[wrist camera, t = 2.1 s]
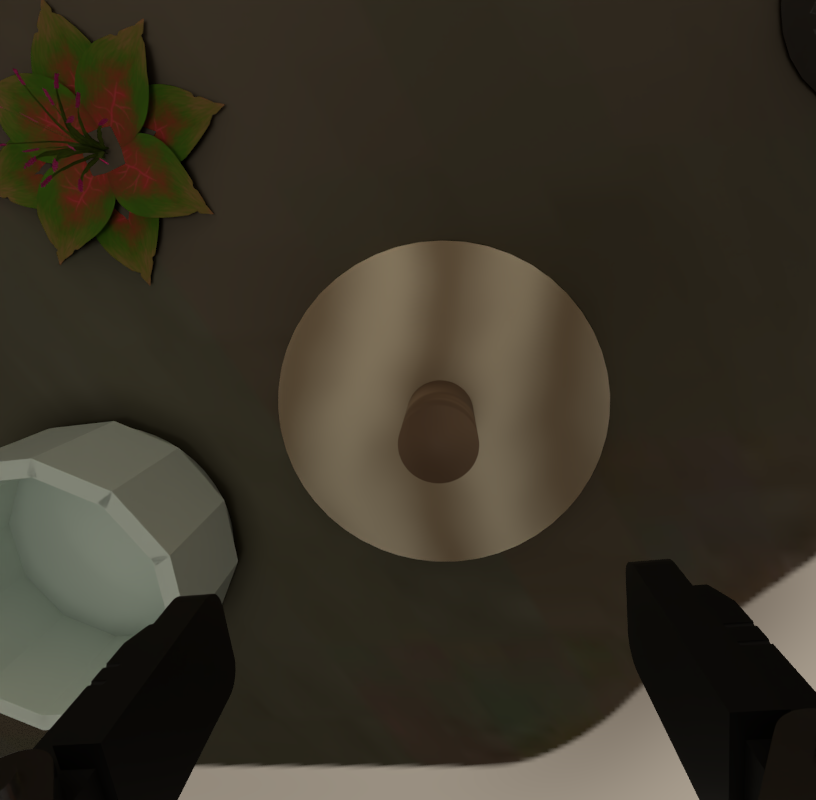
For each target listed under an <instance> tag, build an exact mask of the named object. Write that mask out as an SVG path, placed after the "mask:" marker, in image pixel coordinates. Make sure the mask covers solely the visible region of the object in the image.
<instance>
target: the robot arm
mask: <svg viewBox="0 0 816 800" xmlns="http://www.w3.org/2000/svg"><path fill="white" fill-rule="evenodd" d="M781 16H782V29H783V36H784V39H785V42H786V45H787V49H788V52H789V55H790V58H791V60H792V62H793V63H794V65H795V67H796V68H797V70H798V72H799V73H800V75H801V77H802V78H803V79H804V80H805V81H806V82H807V83H808V84H809V86H810V87H811V88H812V89H813V90H814V91H815V92H816V0H782V1H781ZM626 592H627V617H628V637H629V644H630V650H631V654H632V658H633V661H634V664H635V667H636V670H637V672H638V674H639V676H640V678H641V680H642V682H643V684H644V687H645V688H646V691H647V693H648V695H649V697H650V699H651V701H652V703H653V705H654V707H655V709H656V711H657V713H658V715H659V717H660V719H661V721H662V724H663V726H664V728H665V730H666V732H667V734H668V736H669V738H670V740H671V742H672V744H673V746H674V748H675V750H676V752H677V754H678V756H679V759H680V761H681V763H682V765H683V767H684V769H685V771H686V773H687V775H688V777H689V779H690V781H691V783H692V785H693V787H694V789H695V791H696V794H697V796H698V798H699V800H816V692H815V691H814V690H813V689H812V687H811V686H810V685H809V684H808V683H807V682H806V681H805V679H804V678H803V677H802V676H801V675H800V674H799V673H798V672H797V670H796V669H795V668H794V667H793V666H792V665H791V664H790V663H789V661H788V660H787V659H786V658H785V657H784V656H783V655H782V654H781V652H780V651H779V650H778V649H777V648H776V647H775V646H774V645H773V644H770V642H769V639H768V638H767V637H766V636H765V634H764V633H763V632H762V631H761V630H760V629H759V628H758V627H757V626H754V624H753V621H752V620H751V619H750V618H749V616H748V615H747V614H746V613H745V612H744V611H743V610H742V608H741V607H740V606H739V605H738V604H737V603H736V602H735V601H734V600H732V599H731V598H729V597H727V596H726V595H724V594H722V593H721V592H719V591H717V590H716V589H714V588H712V587H711V586H709V585H695V586H693V585H692V584H691V583H690V582H689V580H688V579H687V578H686V577H685V575H684V574H683V573H682V572H681V570H680V569H679V568H678V567H677V565H676V564H675V563H674V562H673V561H672V560H671V559H662V560H649V561H637V562H628V564H627V566H626ZM106 664H107V665H106V668H102V669H101V670H100V672H99V673H98V674H97V675H96V676H95V677H94V679H93V680H92V681H91V685H90V686H87V687H86V688H85V689H84V690H83V691H82V692H81V694H80V695H79V696H78V697H77V698H76V699H75V701H74V702H73V703H72V704H71V705H70V706H69V708H68V709H67V710H66V711H65V712H64V713H63V714H62V716H61V717H60V718H59V719H58V720H57V721H56V723H55V724H54V725H53V726H52V727H51V728H50V730H49V731H48V732H47V733H46V734H45V735H44V737H43V738H42V739H41V740H40V741H39V742H38V743H37V745H36V746H35V747H34V748H33V749H27V750H22V751H18V752H15V753H11V754H8V755H6V756H4V757H1V758H0V800H178V798H179V796H180V794H181V792H182V790H183V788H184V786H185V784H186V782H187V780H188V778H189V776H190V774H191V772H192V770H193V768H194V766H195V764H196V762H197V760H198V758H199V756H200V754H201V752H202V750H203V748H204V746H205V744H206V742H207V740H208V738H209V736H210V734H211V732H212V730H213V728H214V726H215V725H216V723H217V721H218V719H219V717H220V715H221V713H222V711H223V709H224V707H225V705H226V703H227V701H228V699H229V697H230V695H231V692H232V689H233V685H234V680H235V659H234V654H233V650H232V645H231V641H230V637H229V632H228V628H227V624H226V619H225V615H224V611H223V606H222V603H221V600H220V598H219V597H218V596H217V595H216V594H202V595H189V596H179V597H176V598H175V599H174V600H173V601H172V602H171V603H170V604H169V605H168V607H167V608H166V609H165V610H164V611H163V613H162V614H161V615H160V616H159V617H158V619H157V620H156V621H155V622H154V623H153V624H149V625H148V626H147V627H145V628H144V629H143V630H141V631H140V632H138V633H137V634H136V635H134V636H133V637H132V638H130V639H129V640H127V641H126V642H125V643H124V644H123V645H122V646H121V647H120V648H119V650H118V651H117V652H116V653H115V654H114V655H113V656H112V658H111V659H110V660H109V661H108V662H107V663H106Z"/></svg>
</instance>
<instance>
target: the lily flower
mask: <svg viewBox="0 0 816 800" xmlns="http://www.w3.org/2000/svg"><path fill="white" fill-rule="evenodd" d="M41 9H42V10H41V11H40V14H39V18H38V22H37V27H38V30H39V32H38V33H35V34H34V38H33V42H32V47H31V66H32V72H33V74H31V73H20V74H18V73H17V72H18V71H17V70H16V69H13V71H14V72H15V74H16V75H12V76H10V77H7V78H5V79H3V80H1V81H0V123H1V126H2V128H3V130H4V131H5V132H6V134H7V135H8V136H9V138H10V140H9V141H8V142H7V143H6V144H0V146H4V147H3V148H2V150H1V151H0V197H2V198H6V197H8V198H9V199H10V201H11V202H14V203H16V204H19V205H22V206H26V207H30V208H35V209H37V214H38V217H39V219H40V222H41V224H42V226H43V228H44V230H45V232H46V234H47V236H48V238H49V240H50V242H51V243H52V244H53V245H54V246H55V247H56V248H57V250H58V252H57V256H58V259H59V263H60V264H61V263H62V262H63V261H64V258H65V259H66V258H67V257H69V256H70V255H71V254H73V251H74V249H76V250H78V249H79V248H81V247H82V246H83V245H84V244H85V243H86V242H88V241H89V240H91V239H92V238H93V237H94V236H96V238H97V239H98V241H99V242H100V244H101V245H102V246H103V248H104V249H105V250H106V251H107V252H108V253H109V254H110V255H111V256H112V257H114V258H115V259H116V260H117V261H119V262H120V263H122V264H123V265H125V266H126V267H128V268H129V269H130V270H132V271H136V272H139V273H141V276H142V278H143V279H144V280H145V281H146V282H147V283H148V284H149V285H150V283H151V277H150V275H151V272H152V267H153V260H152V257H153V256H154V255H155V252H156V246H157V238H158V230H159V218H165V217H177V216H185V215H190V214H191V213H195V212H196V211H198V212H199V213H207V214H213V213H212V211H211V210H210V209H209V208H208V207H207V205H205V202H204V200H203V198H202V197H201V195H200V193H199V192H198V190H196V189H194V187H193V182H192V180H191V178H190V177H189V175H188V174H187V172H186V170H185V169H184V167H183V166H182V164H181V163H180V162H181V161H183V160H184V159H185V158H186V157H187V155H188V154H189V153H190V152H191V150H192V149H193V148H194V146H195V145H196V144H197V142H198V141H199V140H200V138H201V137H202V135H203V134H204V132H205V130H206V129H207V127H208V126H209V124H210V120H211V117H212V115H213V114H216V113H217V112H218V111H219V110H220V109H221V108H222V107H223V106H224V105H225V104H221V103H213V102H212V101H210V100H207V99H205V98H203V97H200V96H198V97H194V96H193V95H192V93H191V92H189V91H186V90H184V89H181V88H178V87H175V86H170V85H164V84H152V85H148V77H147V68H146V54H145V44H144V42H143V38H142V37H141V35H142V34H143V23H144V19H142V20H141V21H139V22H138V23H137V24H135V26H130V27H128V28H125V29H123V30H120V31H119V32H118V35H116V36H114V35H111V34H110V35H107V36H105V37H102V38H100V39H98V40H96V41H94V42H93V43H91V42H90V41H89V40H88V39H87V38H86V37H85V36H84V35H83V34H82V33H81V32H80V31H79V30H78V29H77V28H76V27H75V26H74V25H72V24H71V23H70V22H69V21H67V20H66V19H65V18H64V17H62V16H61V15H60V14H57V15H56V13H53V12H52V11H51V8H50V6H49V5H48V4H47V3H46V2H45V1H44V0H41ZM75 93H76V96H75ZM108 126H111V128H112V130H113V132H114V134H115V136H116V138H117V140H118V142H119V144H120V146H121V149H122V152H123V156H124V159H125V163H126V164H124V165H122V166H120V167H118V168H116V169H114V170H112V171H110V172H108V173H105V174H101V175H97V176H94V177H93V176H92V174H91V172H90V167H91V166H93V165H94V164H95V163H96V162H97V161H98V160H99V159H100V160H102V161H103V162H104V163H106V164H108V163H107V162H106V161H104V160H103V159H102V158H105V156H104V153H106V152H104V151H103V150H105V149H108V147H105V145H104V142H103V139H102V132H101V130H100V129H101V128H103V127H108ZM142 126H143V127H146V128H148V129H151V130H154V131H156V133H155V135H154V136H152V135H149V134H144V133H138V132H139V131H140V130H141V128H142ZM96 129H98V130H97V133H98V134H97V138H98V140H99V142H100V143H98V142H97V141H95V140H94V139H92V138H91V137H90V136H89V134H88V132H91V131H93V130H96ZM83 135H85V137H84V136H83ZM99 149H100V150H99ZM82 153H95V154H92V155H89V156H87V157H85V158H84V157H83V154H82ZM106 154H108V153H106ZM94 157H95V158H94ZM90 158H94V159H93V160H91V161H90V162H89V163H88V164H87V163H86V160H88V159H90ZM45 163H51V164H52V165H53V166H52V167H51V168H50V169H49V170H48V171H47V172H46V173H45V174H44V176H43V175H42V174H37V175H34V174H35V173H37V172H38V171H39V170H40V168H41V167H42V166H43V165H44V164H45ZM115 197H116V199H117V201H118V202H119V203H120V204H121V205H122V206H123V207H124V208H125V209H126V210H128V211H129V220H127V219H126V218H125V217H124V216H123V215H122V214H120V213H119V212H118V211H117V210H116V209H115V208H114V205H115Z"/></svg>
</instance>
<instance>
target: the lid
mask: <svg viewBox="0 0 816 800" xmlns="http://www.w3.org/2000/svg"><path fill="white" fill-rule="evenodd" d="M278 411H279V419H280V427H281V432H282V436H283V440H284V444H285V448H286V451H287V453H288V456H289V458H290V461H291V463H292V466H293V468H294V470H295V472H296V474H297V475H298V477H299V479H300V481H301V482H302V484H303V486H304V487H305V489H306V490H307V491H308V493H309V494H310V495H311V497H312V498H313V500H314V501H315V502H316V503H317V504H318V505H319V506H320V507H321V508H322V510H323V511H324V512H325V513H326V514H327V515H328V516H329V517H330V518H332V519H333V520H334V521H335V522H336V523H338V524H339V525H340V526H341V527H342V528H344V529H345V530H347V531H348V532H350V533H351V534H353V535H354V536H356V537H357V538H359V539H361V540H362V541H364V542H366V543H369V544H371V545H373V546H375V547H377V548H379V549H382V550H384V551H387V552H390V553H393V554H396V555H399V556H404V557H408V558H413V559H417V560H427V561H437V562H443V561H463V560H470V559H478V558H482V557H486V556H489V555H493V554H497V553H500V552H502V551H505V550H507V549H510V548H513V547H515V546H517V545H519V544H521V543H523V542H525V541H527V540H528V539H530V538H532V537H534V536H536V535H537V534H538V533H540V532H541V531H543V530H544V529H545V528H547V527H548V526H549V525H551V524H552V523H553V522H554V521H555V520H556V519H558V518H559V517H560V516H561V515H562V514H563V513H564V512H565V511H566V510H567V509H568V508H569V507H570V505H571V504H572V503H573V502H574V501H575V499H576V498H577V497H578V496H579V495H580V493H581V492H582V490H583V489H584V487H585V485H586V484H587V482H588V481H589V479H590V477H591V476H592V474H593V471H594V469H595V467H596V465H597V463H598V460H599V458H600V456H601V452H602V449H603V446H604V442H605V439H606V435H607V429H608V423H609V416H610V390H609V381H608V373H607V369H606V365H605V361H604V357H603V354H602V350H601V348H600V346H599V343H598V341H597V339H596V336H595V334H594V331H593V330H592V328H591V326H590V325H589V323H588V321H587V320H586V318H585V316H584V315H583V313H582V311H581V310H580V309H579V308H578V306H577V305H576V304H575V303H574V301H573V300H572V299H571V298H570V296H569V295H568V294H567V293H566V292H565V291H564V290H563V289H562V288H561V287H560V286H558V285H557V284H556V283H555V282H554V281H553V280H552V279H551V278H550V277H548V276H547V275H545V274H544V273H543V272H541V271H540V270H538V269H537V268H535V267H534V266H533V265H531V264H529V263H527V262H525V261H523V260H521V259H519V258H517V257H515V256H513V255H511V254H509V253H506V252H503V251H500V250H497V249H494V248H492V247H489V246H484V245H479V244H474V243H469V242H459V241H444V240H442V241H428V242H418V243H413V244H408V245H404V246H399V247H395V248H392V249H390V250H387V251H384V252H381V253H378V254H376V255H374V256H372V257H370V258H368V259H366V260H364V261H362V262H360V263H358V264H356V265H355V266H353V267H352V268H350V269H349V270H348V271H346V272H345V273H343V274H342V275H340V276H339V277H338V278H336V279H335V280H334V281H333V282H332V283H331V284H330V285H329V286H328V287H327V288H326V289H325V290H324V291H322V292H321V293H320V295H319V296H318V297H317V298H316V300H315V301H314V302H313V303H312V304H311V306H310V307H309V308H308V309H307V311H306V312H305V314H304V316H303V317H302V319H301V321H300V322H299V324H298V326H297V327H296V329H295V331H294V333H293V336H292V338H291V340H290V343H289V345H288V347H287V350H286V354H285V357H284V361H283V365H282V368H281V375H280V382H279V389H278Z"/></svg>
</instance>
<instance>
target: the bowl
mask: <svg viewBox="0 0 816 800" xmlns="http://www.w3.org/2000/svg"><path fill="white" fill-rule="evenodd" d="M237 563H238V559H237V554H236V550H235V545H234V536H233V529H232V523H231V519H230V516H229V513H228V509H227V507H226V505H225V501H224V499H223V498H222V496H221V494H220V492H219V491H218V489H217V487H216V486H215V484H214V482H213V481H212V480H211V479H210V477H209V476H208V475H207V473H206V472H205V471H204V470H203V469H202V468H201V467H200V466H199V465H198V464H197V463H196V462H195V461H194V460H193V459H192V458H191V457H189V456H188V455H187V454H186V453H185V452H183V451H182V450H181V449H179V448H178V447H176V446H174V445H173V444H171V443H170V442H168V441H166V440H164V439H161V438H159V437H157V436H155V435H152V434H150V433H147V432H144V431H141V430H136V429H132V428H130V427H128V426H125V425H123V424H120V423H118V422H115V421H110V422H101V423H92V424H83V425H75V426H66V427H57V428H50V429H47V430H45V431H42V432H39V433H37V434H34V435H32V436H29V437H27V438H24V439H22V440H19V441H17V442H14V443H12V444H9V445H7V446H4V447H1V448H0V713H2V714H4V715H7V716H9V717H12V718H14V719H17V720H19V721H22V722H24V723H27V724H29V725H32V726H34V727H37V728H39V729H42V730H50V728H51V727H52V726H53V725H54V724H55V723H56V721H57V720H58V719H59V718H60V717H61V716H62V714H63V713H64V712H65V711H66V710H67V709H68V708H69V706H70V705H71V704H72V703H73V702H74V701H75V699H76V698H77V697H78V696H79V695H80V694H81V692H82V691H83V690H84V689H85V688H86V687H87V686H90V685H91V681H92V680H93V679H94V677H95V676H96V675H97V674H98V673H99V672H100V670H101V669H102V668H106V665H107V664H106V663H107V662H108V661H109V660H110V659H111V658H112V656H113V655H114V654H115V653H116V652H117V651H118V650H119V648H120V647H121V646H122V645H123V644H124V643H125V642H126V641H127V640H129V639H130V638H132V637H133V636H134V635H136V634H137V633H138V632H140V631H141V630H143V629H144V628H145V627H147V626H148V625H149V624H153V623H154V622H155V621H156V620H157V619H158V617H159V616H160V615H161V614H162V613H163V611H164V610H165V609H166V608H167V607H168V605H169V604H170V603H171V602H172V601H173V600H174V599H175V598H176V597H179V596H189V595H202V594H216V595H217V596H218V597H219V598H220V600H221V603H223V600H224V598H225V595H226V592H227V590H228V587H229V584H230V581H231V579H232V576H233V573H234V571H235V568H236V565H237Z"/></svg>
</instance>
